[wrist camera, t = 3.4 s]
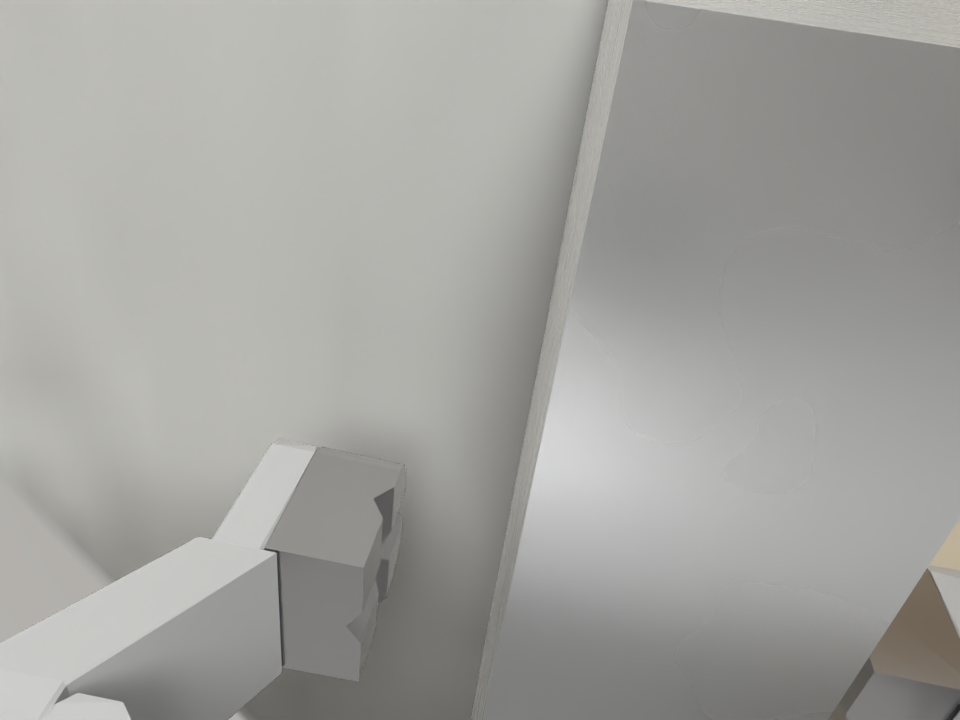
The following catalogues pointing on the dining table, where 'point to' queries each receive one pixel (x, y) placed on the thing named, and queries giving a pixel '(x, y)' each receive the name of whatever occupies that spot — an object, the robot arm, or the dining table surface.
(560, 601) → the blanking panel
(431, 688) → the dining table surface
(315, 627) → the robot arm
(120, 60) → the dining table surface
